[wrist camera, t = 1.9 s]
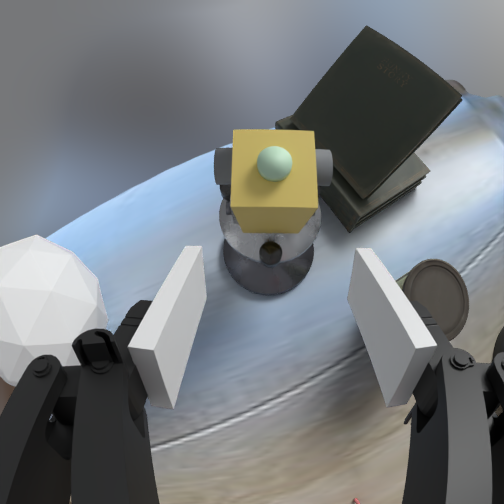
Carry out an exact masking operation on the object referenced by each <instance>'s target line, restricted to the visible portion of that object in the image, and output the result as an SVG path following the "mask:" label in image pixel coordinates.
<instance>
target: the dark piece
mask: <svg viewBox="0 0 504 504" xmlns="http://www.w3.org/2000/svg"><path fill="white" fill-rule="evenodd" d="M461 97H462V95H461V94H460V93H459V92H458V91H456V90H455V89H454V88H453V87H452V86H451V85H450V84H449V83H447V82H446V81H445V80H444V79H443V78H441V77H440V76H439V75H438V74H437V73H435V72H434V71H433V70H432V69H430V68H429V67H428V66H427V65H425V64H424V63H423V62H421V61H420V60H419V59H417V58H416V57H415V56H413V55H412V54H410V53H409V52H408V51H406V50H404V49H403V48H402V47H400V46H399V45H397V44H396V43H394V42H393V41H391V40H389V39H388V38H387V37H385V36H383V35H382V34H380V33H378V32H377V31H375V30H373V29H372V28H370V27H368V26H365V27H364V29H363V30H362V31H361V32H360V33H359V35H358V36H357V37H356V38H355V39H354V40H353V41H352V42H351V44H350V45H349V46H348V47H347V48H346V50H345V51H344V52H343V53H342V54H341V56H340V57H339V58H338V59H337V60H336V62H335V63H334V64H333V65H332V66H331V68H330V69H329V70H328V72H327V73H326V74H325V75H324V76H323V77H322V79H321V80H320V81H319V82H318V84H317V85H316V86H315V88H314V89H313V90H312V91H311V93H310V94H309V95H308V96H307V98H306V99H305V100H304V101H303V103H302V104H301V105H300V106H299V108H298V109H297V110H296V112H295V113H294V114H293V115H291V116H289V117H286V118H284V119H281V120H279V121H277V122H276V123H275V129H276V130H303V131H314V138H315V149H324V150H330V151H331V153H332V159H333V175H332V181H331V184H330V186H321V191H320V194H319V195H320V196H321V197H322V198H323V200H324V201H325V202H326V203H327V205H328V206H329V207H330V208H331V210H332V211H333V212H334V213H335V215H336V216H337V217H338V219H339V220H340V221H341V223H342V224H343V225H344V226H345V228H346V229H347V230H348V232H349V233H351V231H352V230H353V229H354V228H355V227H357V226H359V225H360V224H362V223H363V222H365V221H366V220H368V219H369V218H371V217H372V216H374V215H375V214H377V213H378V212H380V211H381V210H383V209H384V208H386V207H387V206H389V205H390V204H392V203H393V202H395V201H396V200H398V199H399V198H401V197H402V196H404V195H405V194H407V193H408V192H410V191H411V190H413V189H414V188H416V187H417V186H418V185H420V184H421V183H422V182H421V180H423V179H424V178H426V174H427V173H429V172H430V170H429V169H428V167H427V166H426V165H425V164H424V163H423V162H422V161H421V160H420V158H419V157H418V156H417V155H416V154H415V153H414V152H415V151H416V150H417V149H418V148H419V147H420V146H421V145H422V144H423V143H424V141H425V140H426V139H427V138H428V137H429V136H430V135H431V134H432V133H433V132H434V131H435V130H436V129H437V128H438V127H439V125H440V124H441V123H442V122H443V121H444V120H445V119H446V118H447V117H448V116H449V115H450V114H451V112H452V111H453V110H454V109H455V108H456V107H457V106H458V105H459V104H460V102H461V101H462V99H461Z"/></svg>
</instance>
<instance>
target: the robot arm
mask: <svg viewBox="0 0 504 504" xmlns="http://www.w3.org/2000/svg"><path fill="white" fill-rule="evenodd" d="M206 299H207V294H206V284H205V274H204V263H203V252H202V246H185V248H184V249H183V251H182V253H181V254H180V256H179V258H178V259H177V261H176V263H175V264H174V266H173V268H172V269H171V271H170V273H169V274H168V276H167V278H166V279H165V281H164V283H163V284H162V286H161V288H160V290H159V291H158V293H157V295H156V297H155V298H154V300H153V301H147V300H140V301H139V302H138V303H136V304H135V305H134V306H132V307H131V308H130V310H129V311H128V313H127V314H126V316H125V318H124V319H123V321H122V322H121V326H119V327H118V329H117V330H116V332H115V334H114V335H113V334H112V333H111V332H110V331H108V330H105V329H97V328H95V329H91V330H87V331H85V332H83V333H81V334H80V335H79V336H78V337H76V338H75V339H74V341H73V343H72V345H71V346H72V348H73V350H74V352H75V354H76V356H77V358H78V360H79V362H80V364H81V365H76V366H62V365H61V363H60V361H59V360H58V358H57V357H56V356H53V355H42V356H39V357H37V358H35V359H34V360H32V361H31V363H30V364H29V365H28V366H27V368H26V370H25V371H24V373H23V375H22V377H21V378H20V380H19V382H18V384H17V385H16V387H15V389H14V391H13V393H12V394H11V397H10V398H9V400H8V402H7V404H6V406H5V408H4V410H3V412H2V414H1V416H0V504H69V501H70V496H71V501H72V504H159V499H158V493H157V488H156V482H155V476H154V470H153V463H152V456H151V449H150V441H149V432H148V422H147V414H146V411H145V408H144V404H145V402H146V399H147V397H148V399H149V401H150V404H151V406H154V407H160V408H166V409H173V410H174V407H175V403H176V399H177V396H178V392H179V389H180V385H181V382H182V378H183V375H184V372H185V368H186V365H187V361H188V358H189V355H190V351H191V348H192V345H193V341H194V338H195V335H196V331H197V328H198V325H199V322H200V318H201V315H202V312H203V309H204V306H205V302H206ZM347 300H348V302H349V305H350V307H351V310H352V312H353V315H354V317H355V320H356V322H357V325H358V327H359V330H360V333H361V335H362V338H363V340H364V343H365V346H366V349H367V351H368V354H369V357H370V359H371V362H372V365H373V368H374V371H375V374H376V376H377V379H378V382H379V385H380V388H381V391H382V394H383V397H384V400H385V403H386V406H387V407H393V406H398V405H404V404H407V402H408V400H409V399H410V397H411V395H412V394H413V395H414V397H415V400H416V403H415V405H414V406H413V408H412V409H411V411H410V412H409V414H408V415H407V417H406V418H405V421H404V424H407V423H408V421H409V420H410V419H411V417H412V420H411V437H410V449H409V459H408V468H407V476H406V483H405V489H404V495H403V501H402V504H504V411H503V412H502V413H501V414H500V415H499V416H497V415H496V413H495V411H496V409H497V408H498V407H499V406H500V404H501V406H502V408H503V410H504V327H503V328H502V330H501V332H500V334H499V336H498V338H497V341H496V345H495V349H494V356H493V361H492V363H491V364H487V363H476V362H475V359H474V358H473V357H472V356H471V355H470V354H469V353H468V352H466V351H464V350H462V349H458V348H453V347H452V345H451V343H450V342H449V340H448V339H447V337H446V336H445V334H444V333H443V331H442V330H441V328H440V327H439V325H437V322H436V321H435V320H434V318H432V315H431V314H430V312H429V311H428V310H427V308H426V307H424V306H423V305H422V304H420V303H419V302H418V301H409V300H408V299H407V297H406V296H405V294H404V293H403V291H402V290H401V289H400V287H399V286H398V284H397V283H396V281H395V280H394V279H393V277H392V276H391V274H390V273H389V272H388V270H387V269H386V268H385V266H384V265H383V263H382V262H381V261H380V259H379V258H378V257H377V255H376V254H375V253H374V251H373V250H372V249H371V248H356V249H355V256H354V263H353V269H352V275H351V281H350V286H349V292H348V297H347ZM51 414H52V415H53V416H52V418H51V419H50V420H49V418H50V416H51Z"/></svg>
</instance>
